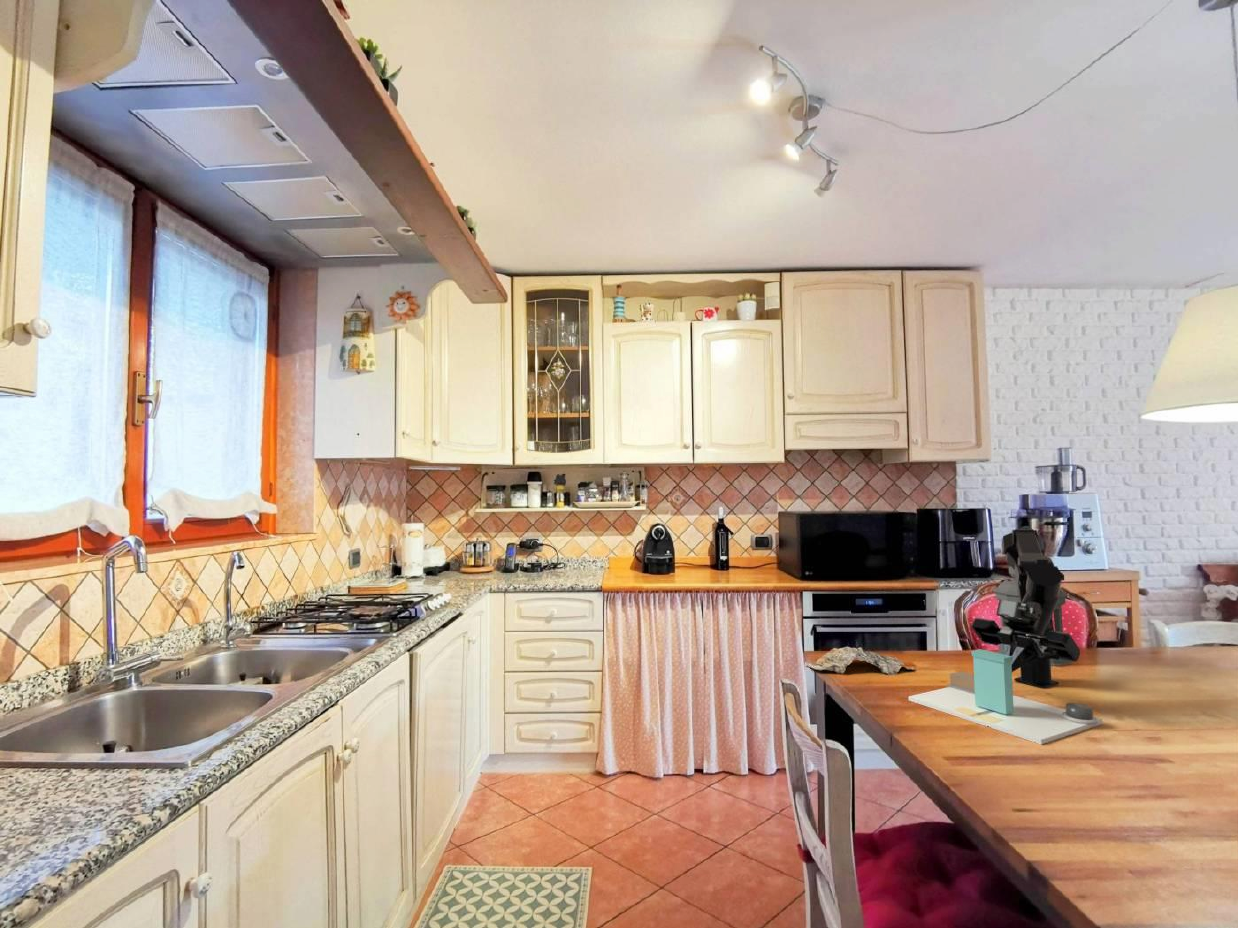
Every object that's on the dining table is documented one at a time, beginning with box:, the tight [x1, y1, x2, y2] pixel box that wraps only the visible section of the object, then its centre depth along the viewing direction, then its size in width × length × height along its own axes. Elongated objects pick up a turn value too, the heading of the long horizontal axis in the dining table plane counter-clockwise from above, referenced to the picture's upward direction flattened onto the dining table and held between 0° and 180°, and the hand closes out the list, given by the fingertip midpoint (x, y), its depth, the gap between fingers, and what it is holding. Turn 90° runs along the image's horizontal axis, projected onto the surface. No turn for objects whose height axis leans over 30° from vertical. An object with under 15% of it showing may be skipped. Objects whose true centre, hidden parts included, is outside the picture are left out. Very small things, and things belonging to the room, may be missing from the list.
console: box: [908, 671, 1103, 745], centre depth 120 cm, size 20×27×4 cm
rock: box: [805, 646, 915, 676], centre depth 152 cm, size 27×15×5 cm, turn 93°
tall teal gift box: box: [971, 649, 1014, 714], centre depth 118 cm, size 3×6×11 cm, turn 27°
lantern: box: [993, 525, 1071, 667], centre depth 160 cm, size 17×17×35 cm
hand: (1007, 671), depth 120 cm, fingers closed
